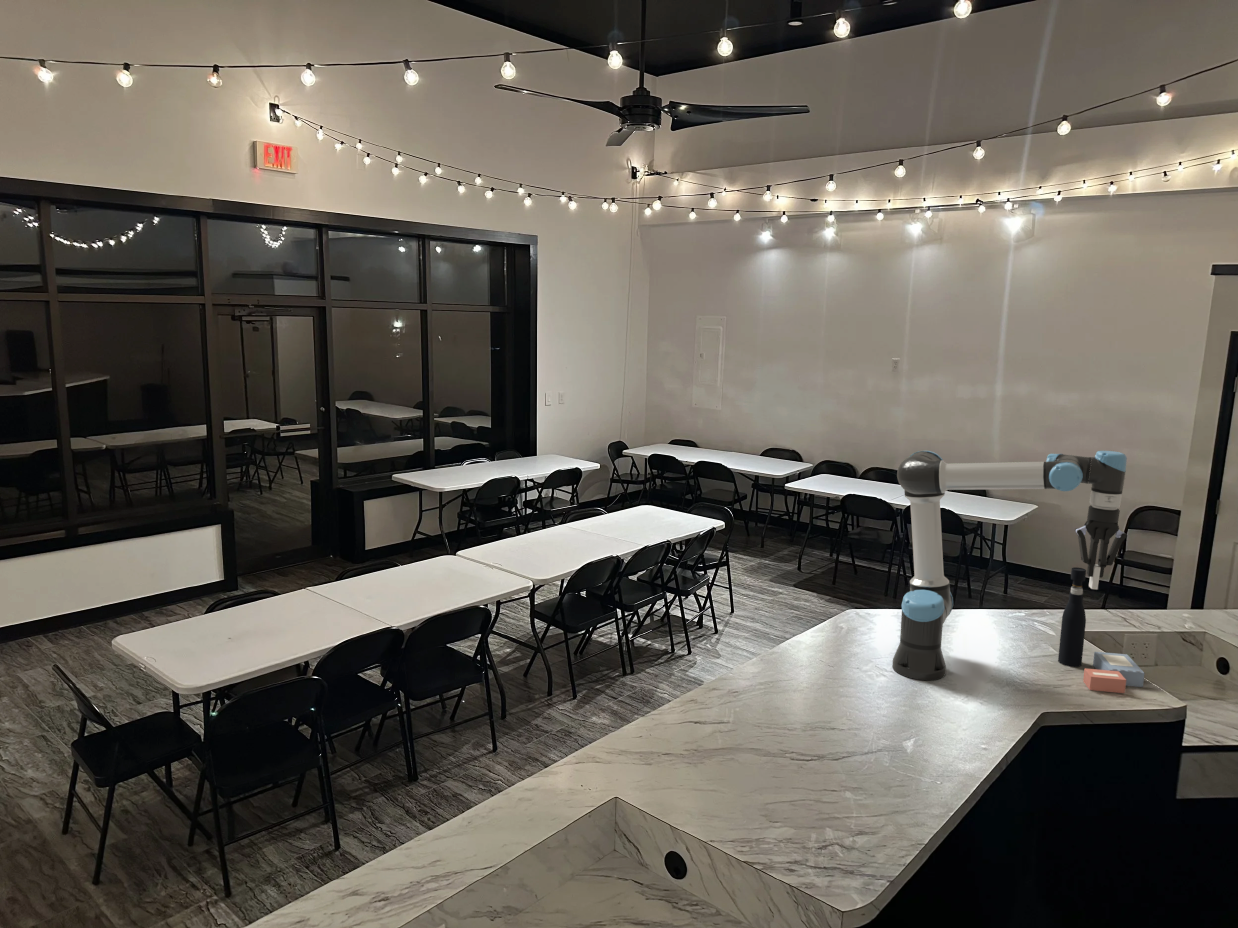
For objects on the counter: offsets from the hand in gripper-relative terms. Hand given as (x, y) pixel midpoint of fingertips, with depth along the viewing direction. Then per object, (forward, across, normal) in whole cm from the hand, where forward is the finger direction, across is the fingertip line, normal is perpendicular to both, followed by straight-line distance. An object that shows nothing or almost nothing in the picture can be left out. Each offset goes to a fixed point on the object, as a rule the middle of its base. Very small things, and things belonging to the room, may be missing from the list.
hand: (1093, 587), depth 233 cm
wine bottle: (+30, +2, +16) cm, 34 cm away
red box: (+29, +6, -1) cm, 30 cm away
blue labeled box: (+29, +13, +9) cm, 33 cm away
